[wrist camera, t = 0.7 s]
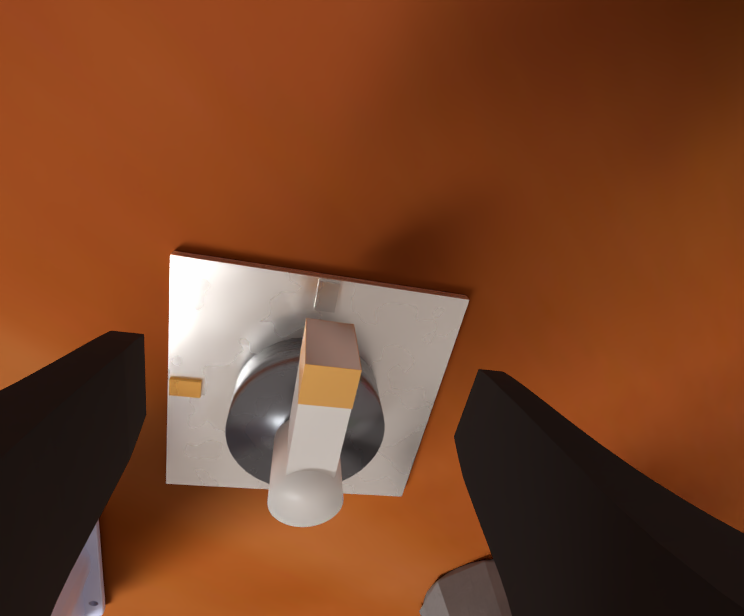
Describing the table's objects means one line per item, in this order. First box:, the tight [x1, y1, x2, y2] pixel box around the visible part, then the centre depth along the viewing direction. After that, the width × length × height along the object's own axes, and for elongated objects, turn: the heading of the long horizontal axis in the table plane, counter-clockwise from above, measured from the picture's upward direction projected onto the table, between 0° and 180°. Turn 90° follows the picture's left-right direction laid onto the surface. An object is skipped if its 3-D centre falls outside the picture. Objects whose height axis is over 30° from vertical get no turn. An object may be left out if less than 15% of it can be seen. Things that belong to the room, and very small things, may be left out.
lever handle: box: [267, 318, 362, 527], centre depth 17 cm, size 7×3×3 cm, turn 168°
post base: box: [166, 251, 469, 496], centre depth 21 cm, size 13×13×3 cm
